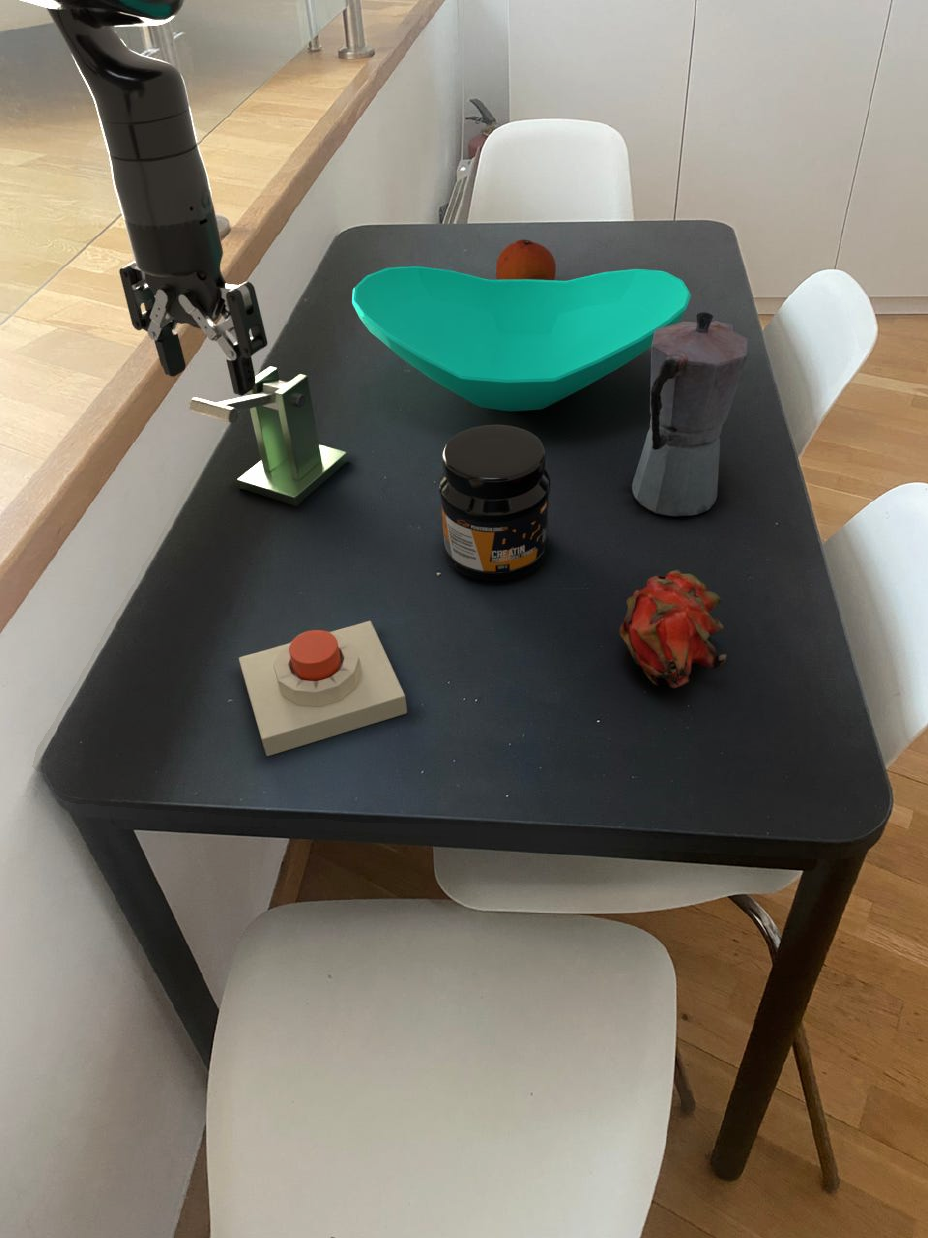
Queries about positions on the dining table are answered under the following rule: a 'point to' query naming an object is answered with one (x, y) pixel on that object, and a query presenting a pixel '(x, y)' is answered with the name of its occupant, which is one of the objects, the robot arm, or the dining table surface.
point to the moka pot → (688, 414)
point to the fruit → (525, 262)
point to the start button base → (322, 692)
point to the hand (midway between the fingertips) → (210, 382)
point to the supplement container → (494, 502)
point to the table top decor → (517, 328)
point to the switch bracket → (288, 444)
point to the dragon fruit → (672, 627)
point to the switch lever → (238, 403)
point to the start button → (315, 655)
